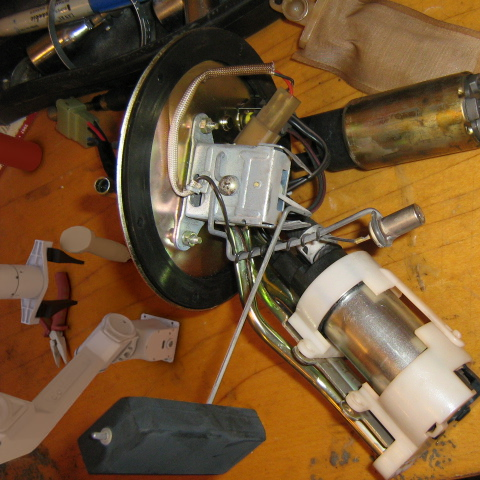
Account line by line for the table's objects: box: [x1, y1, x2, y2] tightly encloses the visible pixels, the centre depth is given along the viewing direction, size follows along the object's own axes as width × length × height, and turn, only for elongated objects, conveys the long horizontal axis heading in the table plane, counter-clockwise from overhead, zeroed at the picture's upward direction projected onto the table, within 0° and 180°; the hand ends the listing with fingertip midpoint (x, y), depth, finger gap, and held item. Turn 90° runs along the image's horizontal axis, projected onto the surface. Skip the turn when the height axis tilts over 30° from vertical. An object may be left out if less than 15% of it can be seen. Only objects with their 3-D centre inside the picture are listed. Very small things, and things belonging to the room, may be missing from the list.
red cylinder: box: [0, 132, 43, 172], centre depth 106 cm, size 7×7×11 cm
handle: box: [59, 225, 132, 263], centre depth 90 cm, size 5×6×15 cm
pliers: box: [39, 271, 70, 369], centre depth 101 cm, size 12×20×3 cm, turn 20°
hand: (77, 282), depth 88 cm, fingers open, 7 cm apart
